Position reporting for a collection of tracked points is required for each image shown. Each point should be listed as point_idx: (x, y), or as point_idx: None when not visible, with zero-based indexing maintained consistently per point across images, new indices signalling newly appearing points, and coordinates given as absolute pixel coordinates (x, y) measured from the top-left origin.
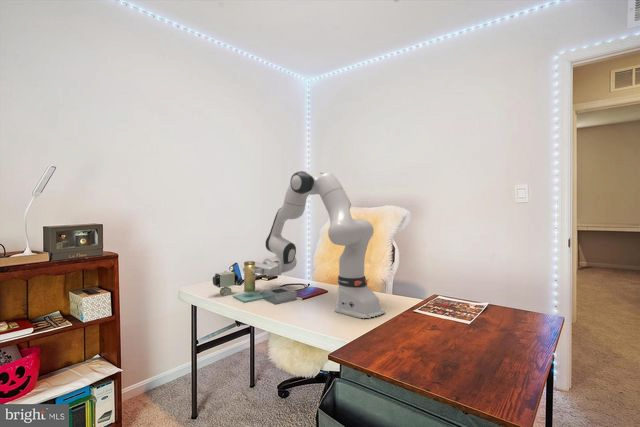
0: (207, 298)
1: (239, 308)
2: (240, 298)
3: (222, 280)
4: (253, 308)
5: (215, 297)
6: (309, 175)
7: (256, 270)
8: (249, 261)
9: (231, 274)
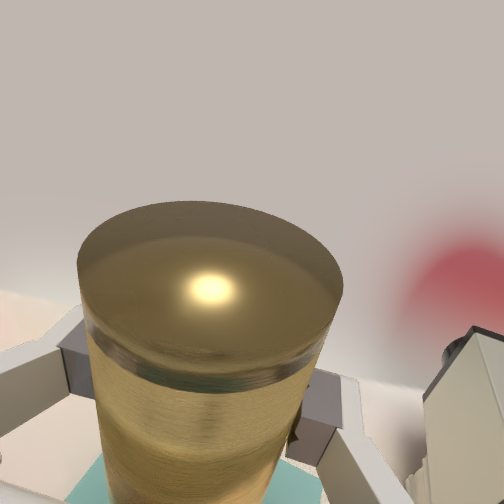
0: (410, 389)
1: None
2: None
3: (451, 386)
4: None
5: (402, 424)
6: None
7: (34, 353)
8: (285, 302)
9: (499, 443)
